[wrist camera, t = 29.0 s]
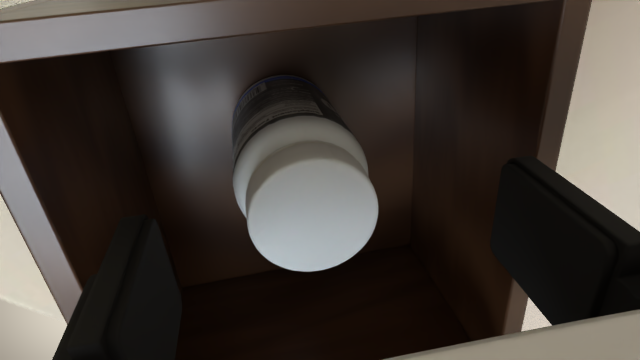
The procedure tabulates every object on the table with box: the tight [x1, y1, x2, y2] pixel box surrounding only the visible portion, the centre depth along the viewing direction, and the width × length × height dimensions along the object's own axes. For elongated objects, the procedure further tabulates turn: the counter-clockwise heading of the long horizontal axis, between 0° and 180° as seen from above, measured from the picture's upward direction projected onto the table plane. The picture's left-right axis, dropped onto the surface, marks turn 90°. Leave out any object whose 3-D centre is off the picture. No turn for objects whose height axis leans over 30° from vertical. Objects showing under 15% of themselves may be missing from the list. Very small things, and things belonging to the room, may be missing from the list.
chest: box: [0, 0, 592, 360], centre depth 17 cm, size 16×15×10 cm
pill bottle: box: [232, 75, 378, 272], centre depth 16 cm, size 5×5×8 cm
